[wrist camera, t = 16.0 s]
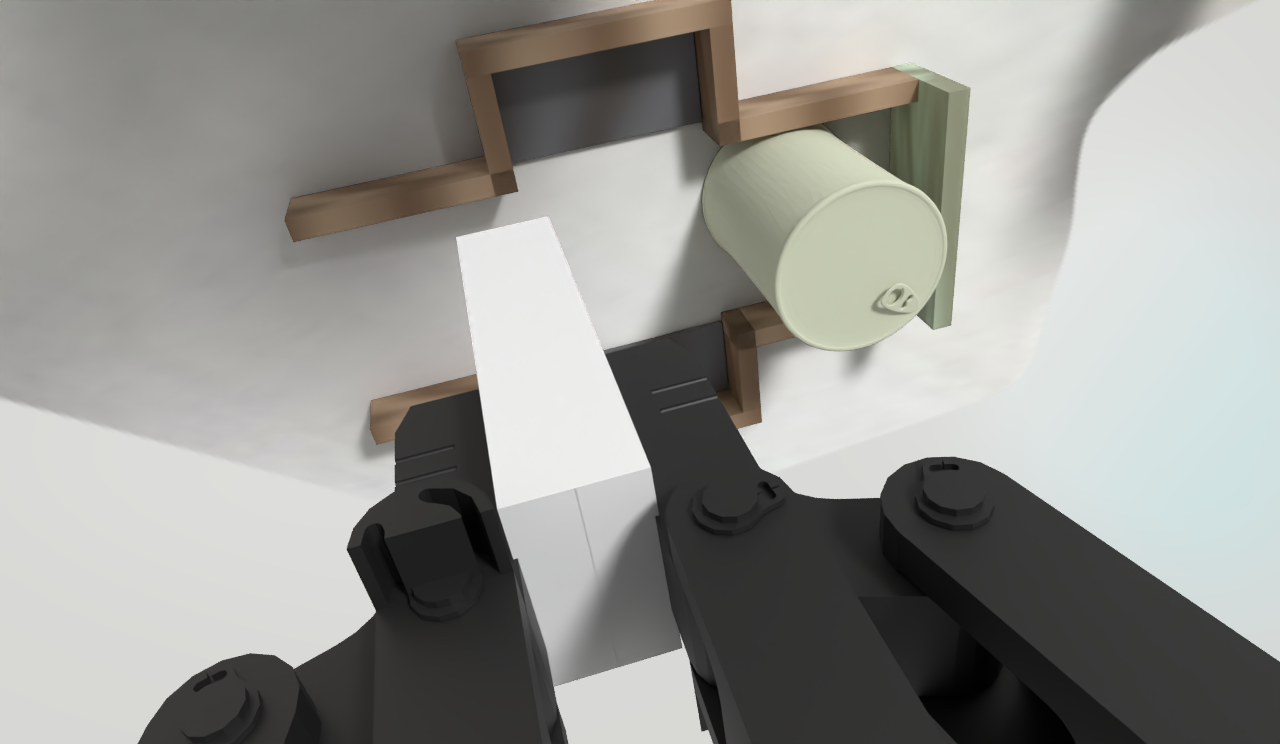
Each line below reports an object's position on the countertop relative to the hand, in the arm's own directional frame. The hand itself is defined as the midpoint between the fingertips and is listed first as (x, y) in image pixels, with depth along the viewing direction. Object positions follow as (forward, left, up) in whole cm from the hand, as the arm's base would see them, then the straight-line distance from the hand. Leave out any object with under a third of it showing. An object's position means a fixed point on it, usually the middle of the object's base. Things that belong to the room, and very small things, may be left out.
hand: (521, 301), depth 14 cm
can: (+21, -2, -33) cm, 39 cm away
